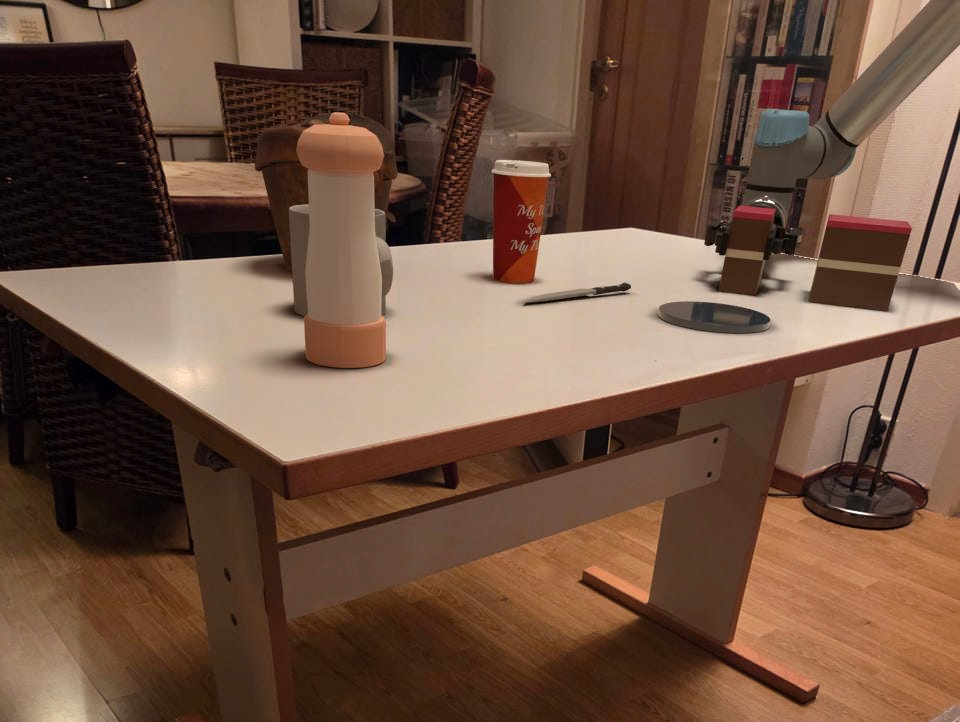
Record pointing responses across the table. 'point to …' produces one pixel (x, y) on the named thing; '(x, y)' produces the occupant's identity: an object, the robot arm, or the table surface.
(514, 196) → the paper cup
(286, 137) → the flower pot
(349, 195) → the salt shaker
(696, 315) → the cake plate
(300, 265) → the coffee mug
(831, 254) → the cake
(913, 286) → the table surface
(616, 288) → the chef's knife
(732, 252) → the cake slice
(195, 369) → the table surface
